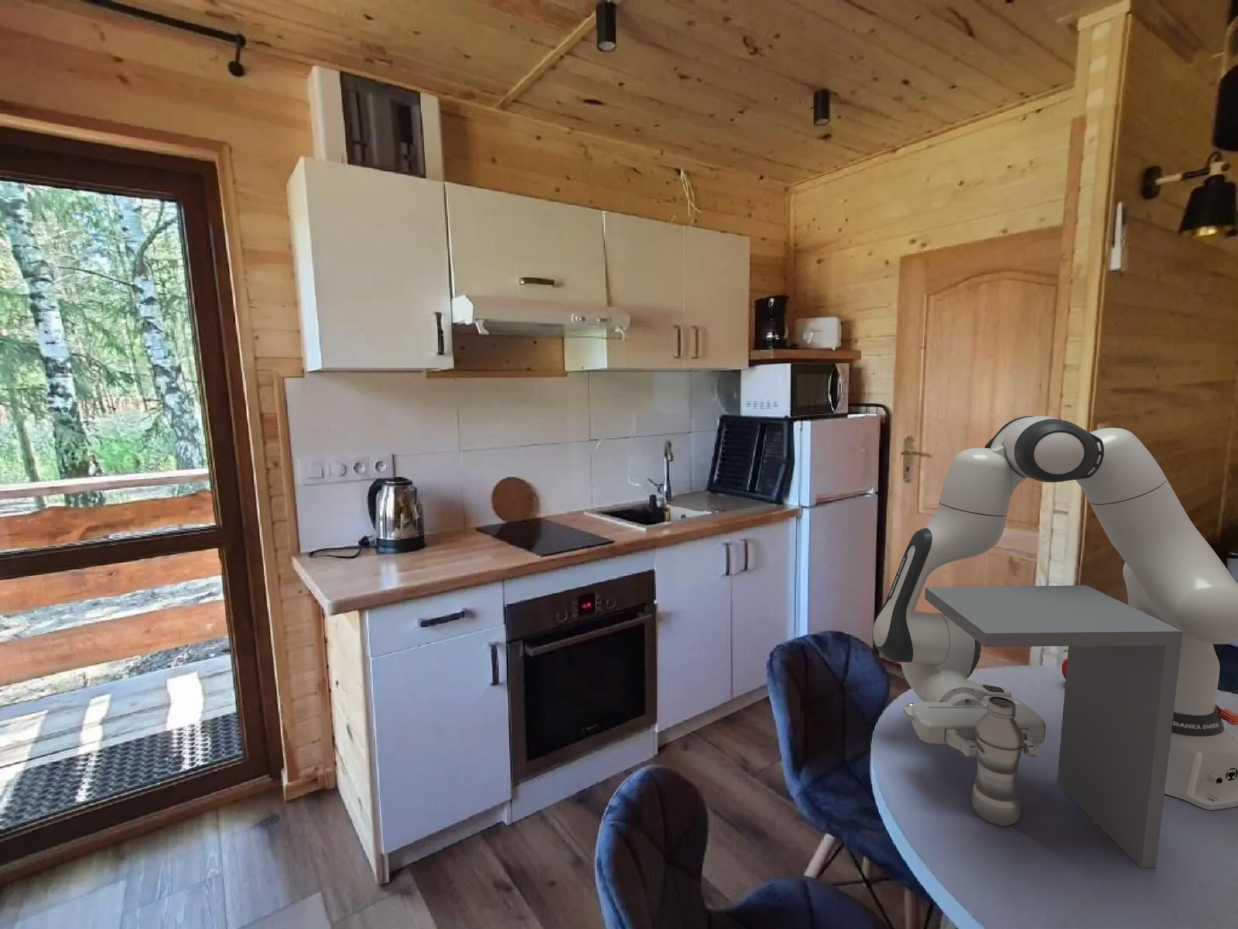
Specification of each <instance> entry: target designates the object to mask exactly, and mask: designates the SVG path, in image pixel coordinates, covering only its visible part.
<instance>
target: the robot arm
mask: <svg viewBox="0 0 1238 929" xmlns="http://www.w3.org/2000/svg"><path fill="white" fill-rule="evenodd" d="M950 463H951V464H950V466H949V468H948V470H947V473H946V476H945V478H944V482H943V485H942V488H941V491H940V496H939V500H938V505H937V508H936V510H935V513H934V514H933V516H932V517H931V519H930V520H929V521H928V523H927V524H926V525H925V526H924V528H921V529H919V530H917V531H915V532H914V533H913V535H912V537H911V539H910V541H909V543H908V545H907V546H906V549H905V550H904V554H903V555H902V557H901V558H902V559H901V561H900V563H899V566H898V568H897V572H896V574H895V576H894V579H893V582H892V583H891V586H890V590H889V592H888V594H887V597H886V599H885V601H884V603H883V604H882V607H881V608H880V611H878V613H877V615H876V617H875V619H874V622H873V625H872V634H871V635H872V637H871V638H872V642H873V644H874V646H875V648H876V649H877V651H878V652H879V653H880V654H881V655H882V656H883V657H885V658H886V659H887V660H888V661H889V662H891V663H901V668H902V674H903V675H904V677H905V680H906V681H907V684H908V685H909V686H910V688H911V690H912V691H913V692H914V694H916V696H917V697H918V698H919V699H920V700H921V701H918V702H912V703H908V704H907V705H904V706H903V707H902V712H903V714H904V715H905V716H906V717H907V718H908V719H909V720H911V725H912V727H913V730H914V732H915V733H916V735H917V737H919V739H920V740H921V741H923V742H924V743H927V744H932V745H933V744H936V745H937V744H941V745H942V744H947V745H949V746H950V747H952V748H954V749H956V750H958V751H961V752H962V754H963V755H964V756H966V757H976V756H977V742H976V733H975V726H976V724H977V722H978V720H979V719H980V718H981V717H983V716H984V715H985V714H987V713H988V712H987V710H986V708H987V705H988V698H989V697H992V696H999V697H1004V698H1007V699H1010V700H1012V701H1013V702H1014V703H1015V704H1016V710H1015V712H1016V717H1015V718H1013V719H1014V720H1015V721H1016V723H1017V724H1018V725H1019V727H1020V729H1021V730H1022V733H1023V736H1024V743H1023V748H1022V752H1021V753H1023V754H1025V756H1026V757H1038V756H1039V746H1038V745H1037V744H1043V743H1044V741H1045V739H1046V736H1047V735H1046V733H1047V726H1046V722H1045V720H1044V719H1043V718H1042V717H1041V716H1040V715H1039V714H1038V713H1037V712H1035V710H1033V709H1032V708H1031V707H1029V706H1028V705H1026V703H1024V702H1023V701H1020V700H1019V699H1017V698H1014V697H1013V696H1012V694H1013V693H1012V692H1011V690H1009V689H1008V688H1005V687H1002V686H1001V687H1000V686H995V685H988V684H985V683H981V682H977V681H974V680H970V679H969V677H971V675H972V674H973V672H975V671H974V670H975V669H976V667H977V666H978V663H979V660H980V659H981V652H982V644H980V643H979V642H978V641H977V640H975V639H974V638H973V637H972V636H970V635H969V634H968V633H967V632H965V631H964V630H963V629H962V628H960V627H959V626H958V625H957V624H955V623H954V622H953V621H952V620H950V619H949V618H948V617H947V616H945V615H944V614H943V613H942V612H927V611H920V610H919V611H918V610H916V607H917V604H918V602H919V600H920V597H921V594H922V592H923V590H924V588H925V585H926V582H927V580H928V578H929V576H930V575H931V573H933V572H934V571H935V570H937V569H938V568H941V567H942V566H944V565H947V564H950V563H953V562H957V561H961V560H965V559H970V558H974V557H977V556H980V555H982V554H986V552H989V551H990V550H991V549H993V548H994V547H995V546H996V545H998V543H999V541H1000V540H1001V538H1002V536H1003V533H1004V530H1005V527H1006V522H1007V518H1008V512H1009V508H1010V501H1011V497H1012V496H1013V493H1014V491H1015V490H1016V489H1017V487H1018V486H1019V485H1020V484H1021V483H1022V482H1024V481H1025V479H1033V480H1034V481H1037V482H1042V483H1051V484H1052V483H1064V482H1068V481H1075V482H1076V483H1077V484H1078V485H1079V486H1080V487H1081V489H1082V492H1083V494H1084V496H1085V497H1086V500H1087V501H1088V503H1089V505H1090V508H1092V511H1093V512H1094V514H1095V516H1096V518H1097V519H1098V522H1099V524H1100V525H1101V527H1102V529H1103V531H1104V532H1105V535H1106V537H1107V538H1108V539H1109V542H1110V543H1111V544H1112V546H1113V547H1114V549H1116V551H1117V552H1118V554H1119V555H1120V556H1121V558H1122V559H1123V560H1124V565H1123V568H1122V574H1123V579H1124V582H1125V585H1126V591H1127V592H1126V593H1127V603H1128V604H1127V605H1129V606H1131V607H1133V608H1135V609H1137V610H1139V611H1141V612H1143V613H1146V614H1148V615H1150V616H1152V617H1154V618H1156V619H1158V620H1160V621H1162V622H1164V623H1166V624H1169V625H1171V626H1173V627H1175V628H1177V629H1179V630H1181V631H1183V634H1182V643H1181V651H1180V660H1179V669H1178V678H1177V687H1176V695H1175V704H1174V713H1173V722H1172V730H1171V739H1170V748H1169V757H1168V766H1167V774H1166V783H1165V792H1164V795H1168V796H1172V797H1175V798H1178V799H1182V800H1184V801H1186V802H1188V803H1191V804H1193V805H1195V806H1197V807H1199V808H1202V809H1204V810H1208V811H1209V810H1210V811H1215V810H1216V811H1217V810H1222V809H1228V808H1235V807H1238V736H1236V735H1235V734H1234V733H1233V732H1232V731H1230V730H1229V729H1228V728H1227V727H1225V726H1224V722H1223V721H1226V723H1228V724H1230V725H1231V726H1238V713H1236V712H1234V711H1232V710H1231V709H1229V708H1224V709H1222V708H1221V707H1220V705H1217V703H1216V702H1217V697H1218V696H1217V694H1218V689H1219V688H1218V686H1219V680H1220V671H1221V670H1220V669H1221V668H1220V667H1221V666H1220V662H1219V658H1218V656H1217V654H1216V650H1215V646H1214V645H1226V644H1232V643H1235V642H1238V582H1237V581H1236V580H1235V578H1234V577H1233V576H1232V575H1231V574H1232V573H1230V571H1229V570H1228V569H1227V567H1226V565H1225V564H1224V563H1223V561H1222V560H1221V559H1220V558H1219V556H1218V555H1217V553H1216V552H1215V550H1214V549H1213V548H1212V547H1211V545H1210V544H1209V543H1208V541H1206V539H1205V537H1203V535H1202V534H1201V532H1200V531H1199V530H1198V529H1197V528H1196V526H1195V524H1193V522H1192V521H1191V519H1190V517H1189V515H1188V514H1187V512H1186V510H1185V508H1184V507H1183V505H1182V504H1181V501H1180V499H1179V498H1178V496H1177V494H1176V492H1175V491H1174V489H1173V488H1172V486H1171V483H1170V482H1169V480H1168V478H1167V476H1166V475H1165V473H1164V471H1163V470H1162V468H1161V467H1160V466H1159V464H1158V462H1157V461H1156V459H1155V458H1154V457H1153V455H1152V454H1151V453H1150V451H1149V450H1148V449H1147V447H1146V446H1145V445H1144V444H1143V442H1142V441H1140V439H1139V438H1138V437H1137V435H1135V433H1132V432H1131V431H1130V430H1127V429H1125V428H1121V427H1119V428H1118V427H1106V428H1105V427H1104V428H1099V429H1096V430H1092V431H1090V432H1089V431H1088V430H1086V429H1084V428H1082V427H1081V426H1079V425H1077V424H1075V423H1073V422H1071V421H1068V420H1064V419H1059V418H1057V417H1053V416H1048V415H1024V416H1020V417H1017V418H1014V419H1011V420H1010V421H1008V422H1006V423H1005V424H1004V425H1003V426H1002V427H1001V428H1000V429H999V430H998V431H997V432H996V434H995V435H994V436H993V437H992V438H991V439H990V440H989V441H988V442H987V443H986V444H985V445H984V447H972V448H968V449H964V450H961V451H960V452H957V454H956V455H955V456H954V458H953V459H952V462H950Z"/></svg>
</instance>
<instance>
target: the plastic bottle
mask: <svg viewBox="0 0 1238 929" xmlns="http://www.w3.org/2000/svg"><path fill="white" fill-rule="evenodd" d="M986 710H987V712H988V713H987V714H985V715H984V716H983V717H981V718H980V719H979V720H978V722H977V724H976V726H975V733H976V742H977V744H976V749H977V751H976V755H977V769H976V776H975V782H974V783H973V787H972V790H971V791H972V792H971V795H970V796H971V802H972V807H973V809H974V811H975V812H976V813H977V815H978V816H979V817H981V819H983V820H984V821H986V822H987V823H991V824H993V825H996V826H997V825H998V826H1002V827H1004V826H1005V827H1007V826H1011V825H1014V824H1015V823H1016V822H1017V821H1018V819H1019V817H1020V813H1021V804H1020V797H1019V792H1018V791H1019V790H1018V789H1019V787H1018V773H1019V764H1020V758H1021V756H1022V753H1023V752H1022V748H1023V743H1024V736H1023V733H1022V730H1021V729H1020V727H1019V725H1018V724H1017V723H1016V721H1015V720H1014V719H1013V718H1015V717H1016V712H1015V710H1016V704H1015V703H1014V702H1013V701H1012V700H1010V699H1007V698H1004V697H999V696H992V697H989V698H988V705H987V708H986Z"/></svg>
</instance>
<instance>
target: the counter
mask: <svg viewBox="0 0 1238 929" xmlns="http://www.w3.org/2000/svg"><path fill="white" fill-rule="evenodd" d="M924 600H925V601H927V602H928V603H929V604H930V605H931V606H933V607H934V608H935V609H937V610H938V611H939V613H942V614H944V615H945V616H947V617H948V618H949V619H950V620H952V621H953V622H954V623H955V624H957V625H958V626H959V627H960V628H962V629H963V630H964V631H965V632H967V633H968V634H969V635H970V636H972V637H973V638H974V639H975V640H977V641H978V642H979V643H980V644H981V646H983V647H984V648H998V647H999V648H1001V647H1002V648H1005V647H1006V648H1007V647H1008V648H1011V647H1012V648H1013V647H1016V648H1017V647H1019V648H1021V647H1022V648H1023V647H1026V648H1027V647H1028V648H1031V647H1067V649H1068V652H1067V659H1068V660H1067V671H1066V680H1065V682H1064V683H1065V686H1064V696H1063V698H1064V699H1063V706H1062V707H1063V710H1062V718H1061V719H1062V720H1061V733H1060V741H1059V742H1060V745H1059V753H1058V754H1059V756H1058V765H1057V766H1058V767H1057V768H1058V769H1057V779H1056V780H1057V781H1056V785H1058V787H1059V788H1060V789H1061V790H1062V791H1063V792H1064V793H1065V794H1066V795H1067V796H1068V797H1069V798H1070V799H1071V800H1072V801H1073V802H1074V803H1076V805H1078V806H1079V808H1081V810H1082V811H1083V812H1084V813H1085V814H1087V815H1088V817H1089V818H1090V819H1091V820H1092V821H1094V823H1096V824H1097V826H1098V827H1100V829H1101V830H1102V831H1103V832H1104V833H1106V834H1107V835H1108V836H1109V838H1111V840H1113V841H1114V842H1115V843H1116V845H1118V847H1120V848H1121V849H1122V850H1123V851H1124V852H1125V853H1126V854H1127V856H1129V857H1130V858H1131V859H1132V860H1133V861H1134V863H1136V864H1137V865H1138V866H1139V867H1140V868H1141V869H1156V868H1157V862H1158V861H1157V860H1158V854H1159V853H1158V852H1159V842H1160V836H1161V825H1162V819H1163V818H1162V817H1163V816H1162V815H1163V809H1164V802H1165V801H1164V800H1165V794H1164V792H1165V783H1166V774H1167V766H1168V757H1169V748H1170V739H1171V730H1172V722H1173V713H1174V704H1175V695H1176V687H1177V678H1178V669H1179V660H1180V651H1181V643H1182V634H1183V631H1181V630H1179V629H1177V628H1175V627H1173V626H1171V625H1169V624H1166V623H1164V622H1162V621H1160V620H1158V619H1156V618H1154V617H1152V616H1150V615H1148V614H1146V613H1143V612H1141V611H1139V610H1137V609H1135V608H1133V607H1131V606H1129V605H1128V604H1126V603H1124V602H1123V601H1120V600H1118V599H1115V598H1114V597H1112V596H1110V595H1108V594H1105V593H1103V592H1102V591H1099V590H1097V589H1095V588H1093V587H1091V586H1089V585H1087V584H1081V585H1079V584H1078V585H1075V584H1074V585H1014V586H1013V585H1009V586H1007V585H1005V586H1001V585H1000V586H999V585H997V586H995V585H994V586H938V587H937V586H931V587H930V586H929V587H928V586H924Z"/></svg>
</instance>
